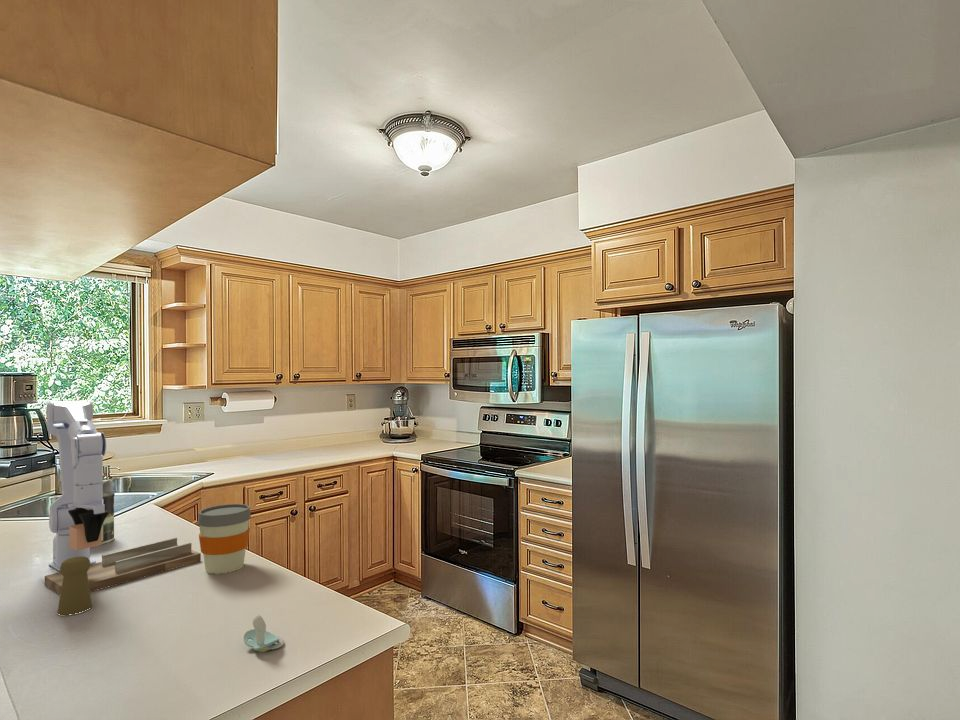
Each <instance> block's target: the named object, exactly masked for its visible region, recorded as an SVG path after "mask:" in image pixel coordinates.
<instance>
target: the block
mask: <svg viewBox="0 0 960 720" xmlns="http://www.w3.org/2000/svg"><path fill="white" fill-rule="evenodd" d="M99 546H102V544H101V531H100V535H99V539H98V541H94V542H89V543H88V542H87V540H86V536H85V529H84V525H83V523H82V524H77V525H72V526H69V547H70V548H72V549H74V550H76V551H78V550H82V549H86V548H90V549H91V548H94V547H99Z"/></svg>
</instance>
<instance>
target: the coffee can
mask: <svg viewBox="0 0 960 720" xmlns="http://www.w3.org/2000/svg"><path fill="white" fill-rule="evenodd" d="M103 500H104V502H103V504H104V505H105V510H107V511H108V515H107V517H106V518H105V520H104V522H103V525H102V528H101V545H104V544H108V543H110V542H113V541H114V540H115V492H113V491H103Z"/></svg>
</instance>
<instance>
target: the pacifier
mask: <svg viewBox="0 0 960 720" xmlns="http://www.w3.org/2000/svg"><path fill="white" fill-rule="evenodd" d="M252 619H253V620H252V626H253V628H254V629H249V630H248V631H246V632H245V633H244V634H243V642H244V644H245V646H247V647H250V648H253V650H254V651H257V652H262V653H263V652H267V651H269V650H270V651H271V650H277V649H280V648H282V647H283V645H284V643H285V640H284V639H283V638H282V637H281V636H279V635H276V634H273V633H271V632H269V631H267V625H266V622H265V620H264V618H263V617H262V616H261V615H260V614H256V615H255V616H254V617H253V618H252ZM276 642H277V643H276ZM275 643H276V644H275Z"/></svg>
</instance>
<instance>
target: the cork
mask: <svg viewBox="0 0 960 720" xmlns="http://www.w3.org/2000/svg"><path fill="white" fill-rule="evenodd" d="M90 565H91V564H90V560H89V559H88V558H87V557H83V556H81V557H73V558H69V559H67V560H65V561H64V562H62V564H61V567H60V571H59V572H61V574H62V575H63V582H62V588H61V594H59V595H60V596H59V602H58V608H57V613H58V614H60V615H69V614H75V613H79V612H82V611H85V610H87V609H89V608H91V607H92V608H93V602H92V596H91V592H90V588H89V582H88V575H87V571H88V570H89V567H90ZM92 608H91V609H92ZM89 610H90V609H89ZM85 612H86V611H85ZM58 614H57V615H58Z"/></svg>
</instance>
